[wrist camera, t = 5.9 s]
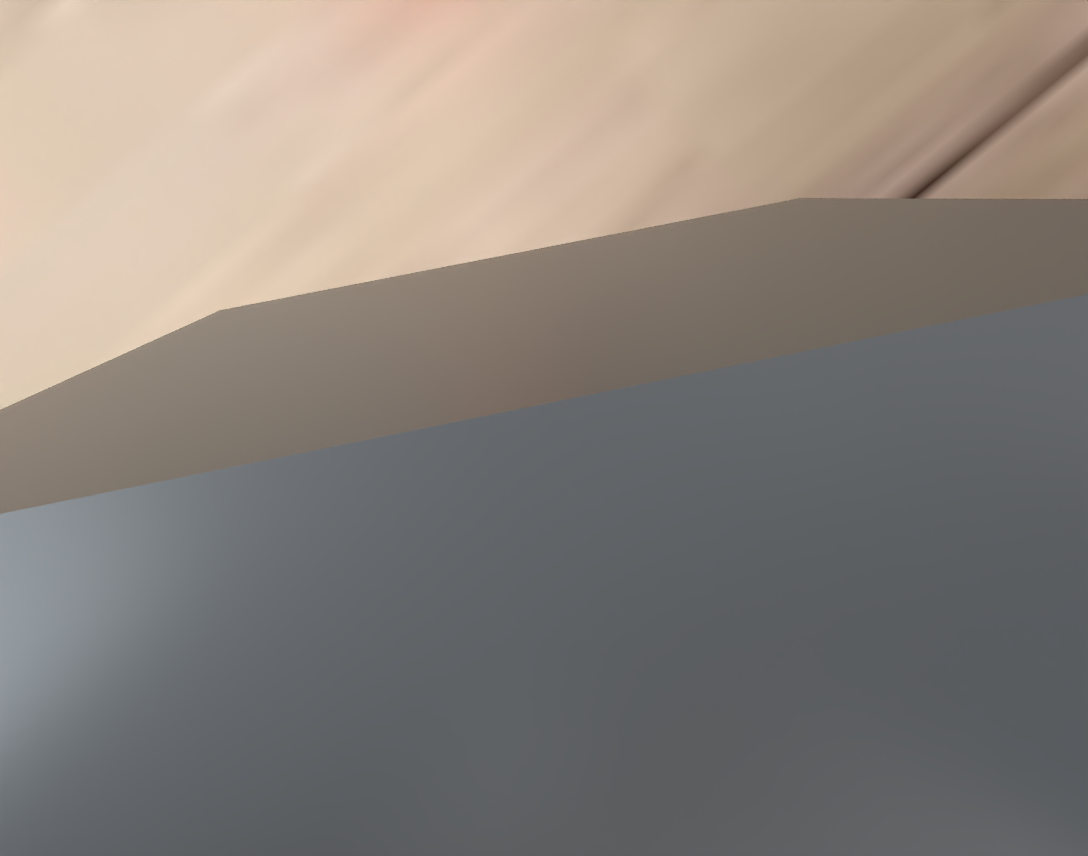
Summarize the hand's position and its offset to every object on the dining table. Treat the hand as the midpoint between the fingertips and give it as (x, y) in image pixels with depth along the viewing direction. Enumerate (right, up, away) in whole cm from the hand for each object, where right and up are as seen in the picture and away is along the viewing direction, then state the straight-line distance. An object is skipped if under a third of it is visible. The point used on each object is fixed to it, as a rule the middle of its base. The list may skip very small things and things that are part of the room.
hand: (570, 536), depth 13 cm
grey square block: (0, 0, +1) cm, 1 cm away
